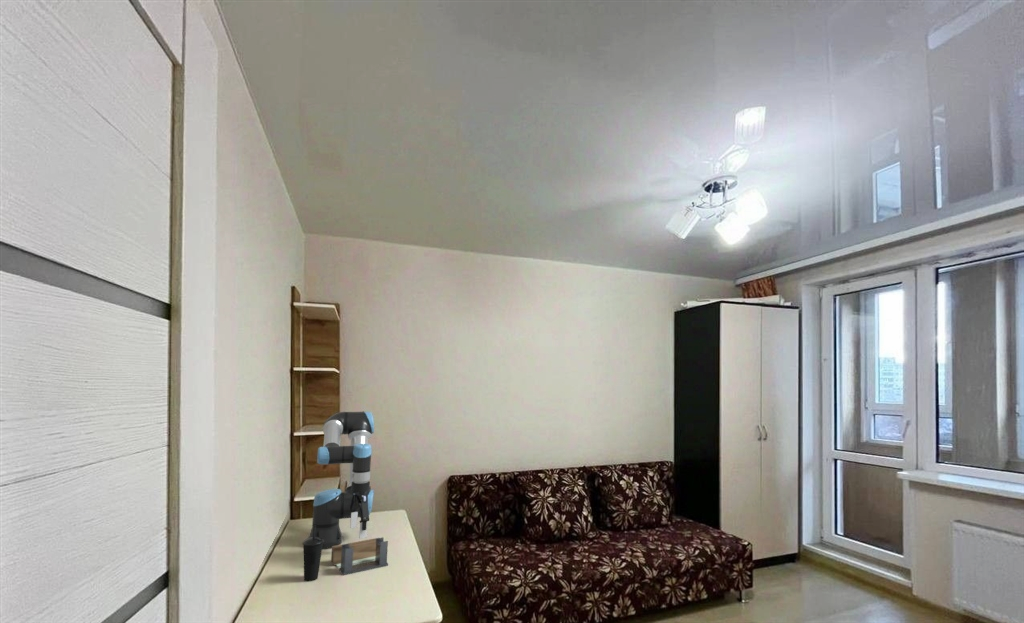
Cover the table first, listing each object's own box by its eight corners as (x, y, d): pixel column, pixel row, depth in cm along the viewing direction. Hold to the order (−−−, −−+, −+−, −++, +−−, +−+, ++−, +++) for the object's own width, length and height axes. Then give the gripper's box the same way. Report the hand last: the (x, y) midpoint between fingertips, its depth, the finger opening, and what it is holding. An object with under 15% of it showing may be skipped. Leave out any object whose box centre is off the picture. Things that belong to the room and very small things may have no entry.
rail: (331, 561, 197) (332, 546, 198) (378, 552, 208) (379, 537, 209) (333, 564, 194) (334, 549, 195) (381, 554, 205) (382, 540, 206)
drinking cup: (326, 576, 184) (329, 522, 187) (311, 584, 177) (315, 527, 180) (310, 573, 187) (313, 520, 189) (295, 581, 180) (299, 525, 182)
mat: (332, 560, 200) (332, 559, 200) (374, 552, 209) (374, 550, 210) (337, 567, 192) (337, 566, 192) (381, 558, 202) (381, 557, 202)
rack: (339, 570, 190) (340, 545, 191) (383, 560, 200) (384, 537, 201) (343, 575, 185) (344, 549, 186) (388, 565, 195) (389, 541, 196)
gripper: (344, 476, 213) (341, 525, 211) (360, 489, 193) (357, 543, 190) (361, 474, 217) (358, 522, 215) (378, 486, 197) (376, 540, 195)
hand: (358, 532), depth 203 cm, fingers open, 13 cm apart
